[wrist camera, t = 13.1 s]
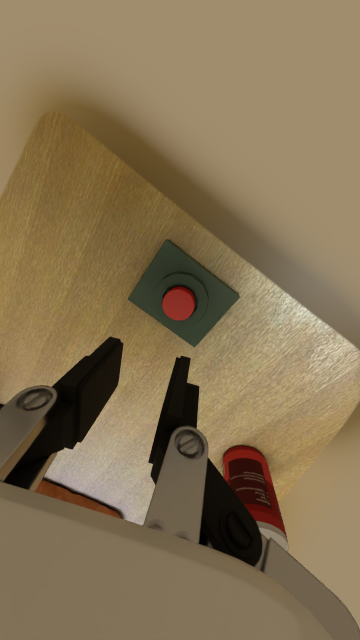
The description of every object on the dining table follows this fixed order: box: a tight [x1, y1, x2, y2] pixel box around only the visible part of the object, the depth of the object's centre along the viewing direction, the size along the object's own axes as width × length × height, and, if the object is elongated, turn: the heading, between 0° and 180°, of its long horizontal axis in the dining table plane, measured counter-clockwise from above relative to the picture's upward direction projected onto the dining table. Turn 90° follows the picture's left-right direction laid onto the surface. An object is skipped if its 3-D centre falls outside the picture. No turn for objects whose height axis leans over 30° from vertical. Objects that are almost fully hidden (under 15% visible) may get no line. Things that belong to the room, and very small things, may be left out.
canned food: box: [223, 446, 289, 552], centre depth 31 cm, size 8×8×11 cm
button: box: [162, 286, 195, 320], centre depth 23 cm, size 4×4×2 cm
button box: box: [128, 240, 240, 347], centre depth 25 cm, size 11×9×4 cm
